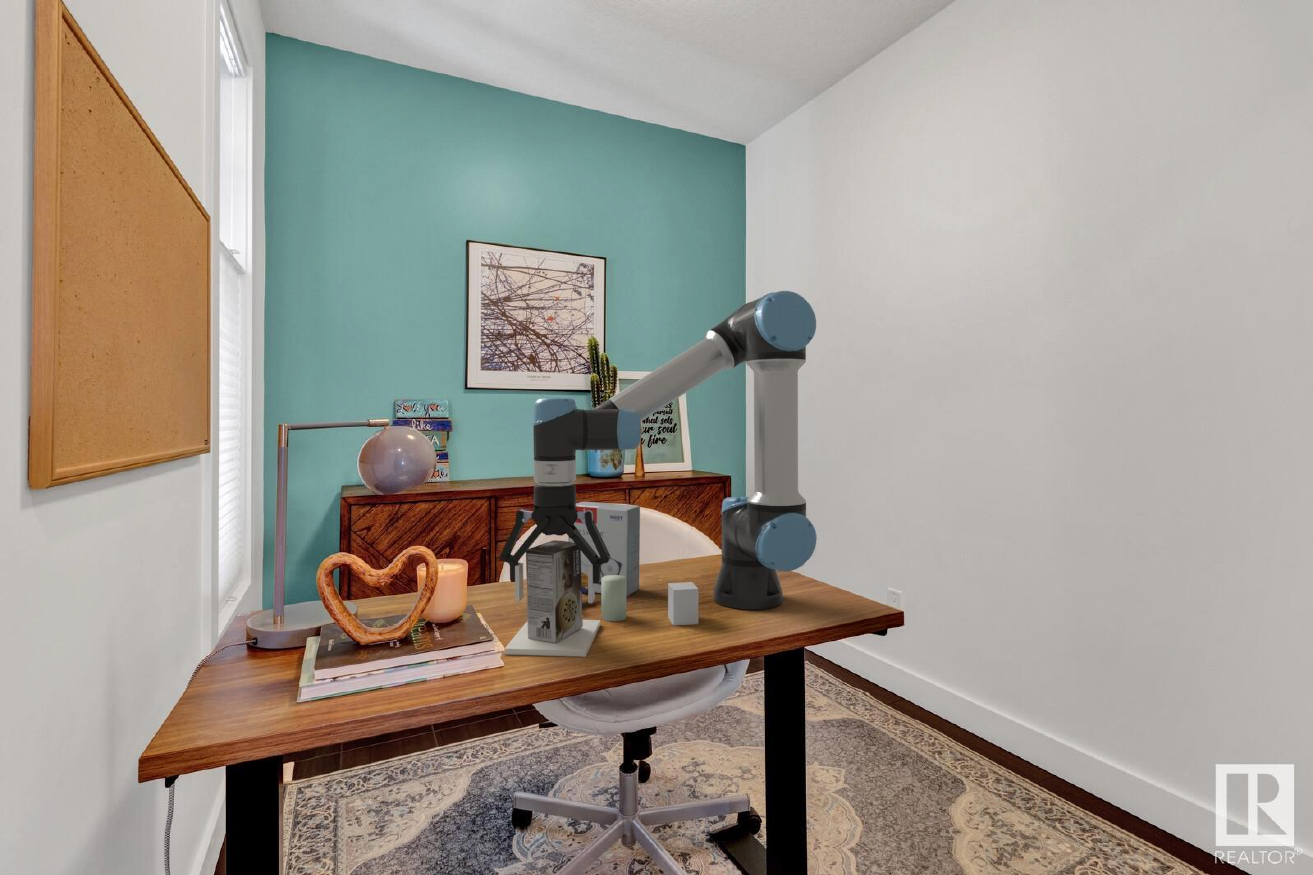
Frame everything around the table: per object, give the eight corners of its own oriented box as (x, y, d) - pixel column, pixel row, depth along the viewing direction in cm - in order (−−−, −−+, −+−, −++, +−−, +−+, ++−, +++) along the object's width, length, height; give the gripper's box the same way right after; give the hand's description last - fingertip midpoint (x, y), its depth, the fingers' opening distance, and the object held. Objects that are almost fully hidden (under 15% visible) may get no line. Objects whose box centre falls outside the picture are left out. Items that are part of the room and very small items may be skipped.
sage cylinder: (627, 613, 130) (627, 575, 130) (624, 621, 125) (624, 581, 125) (603, 613, 130) (603, 574, 130) (599, 621, 125) (599, 581, 125)
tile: (600, 625, 123) (600, 620, 123) (585, 656, 107) (585, 650, 107) (529, 623, 124) (529, 618, 124) (504, 654, 108) (504, 648, 108)
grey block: (691, 616, 129) (692, 582, 128) (698, 624, 124) (698, 588, 123) (668, 617, 128) (668, 583, 127) (673, 625, 123) (673, 590, 122)
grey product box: (554, 623, 121) (553, 539, 120) (583, 627, 118) (582, 541, 117) (525, 638, 112) (524, 548, 112) (556, 643, 110) (554, 551, 109)
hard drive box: (566, 590, 147) (566, 505, 147) (583, 582, 154) (582, 501, 154) (626, 597, 141) (626, 509, 141) (640, 589, 148) (641, 504, 148)
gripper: (480, 485, 111) (481, 604, 112) (620, 486, 110) (620, 608, 110) (494, 480, 119) (495, 593, 119) (625, 481, 117) (625, 595, 118)
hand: (555, 600), depth 115 cm, fingers open, 13 cm apart
